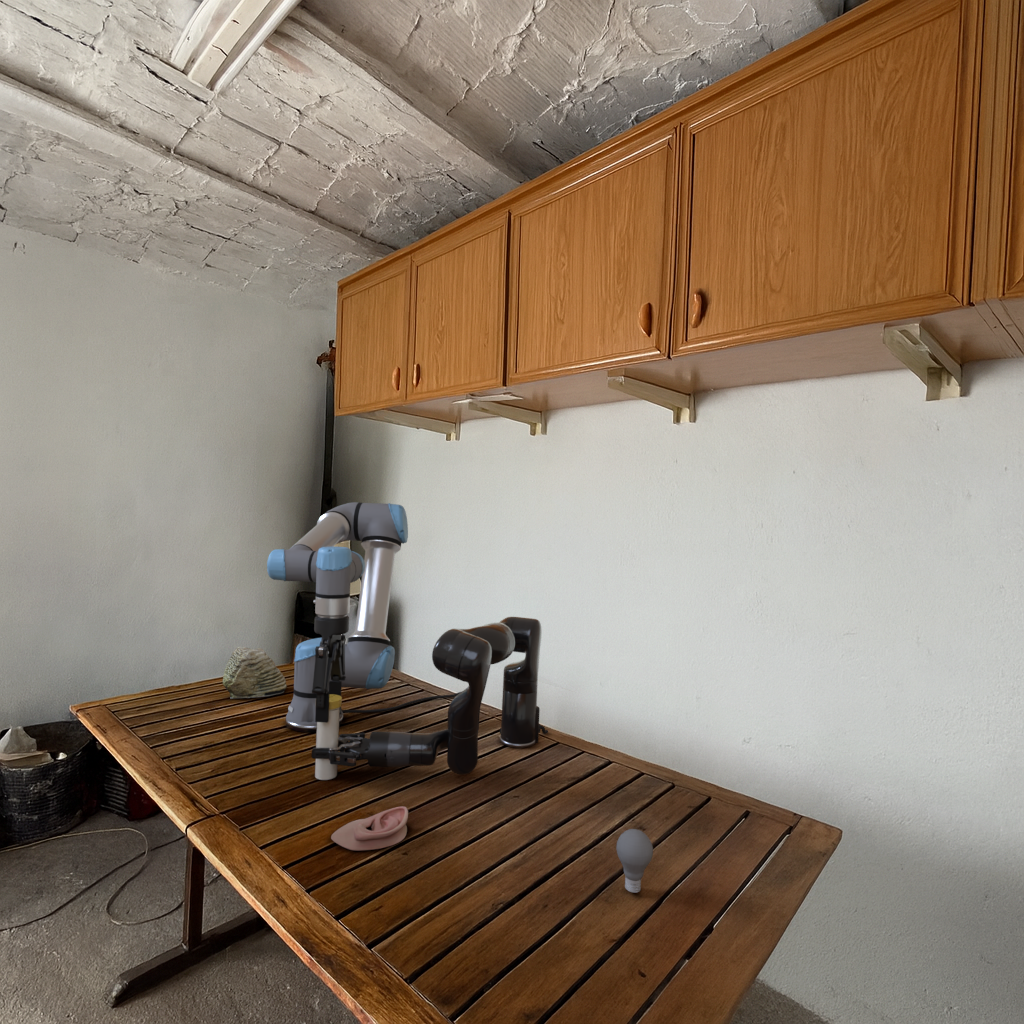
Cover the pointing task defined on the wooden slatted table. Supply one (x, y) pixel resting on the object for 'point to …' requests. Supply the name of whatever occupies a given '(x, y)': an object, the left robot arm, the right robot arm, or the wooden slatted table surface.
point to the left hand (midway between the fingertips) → (328, 715)
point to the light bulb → (634, 857)
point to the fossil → (252, 674)
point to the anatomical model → (374, 830)
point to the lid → (334, 701)
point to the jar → (327, 745)
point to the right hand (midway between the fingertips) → (315, 748)
